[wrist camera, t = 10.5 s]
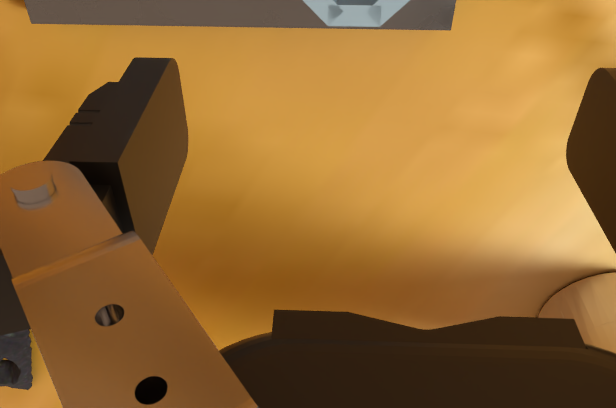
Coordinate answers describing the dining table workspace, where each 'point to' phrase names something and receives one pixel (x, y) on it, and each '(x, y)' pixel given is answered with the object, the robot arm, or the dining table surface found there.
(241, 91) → the dining table surface
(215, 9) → the gear carrier
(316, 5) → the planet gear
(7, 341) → the dark slate chunk
